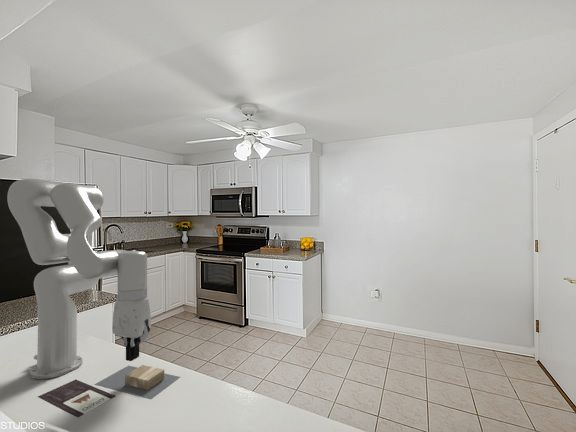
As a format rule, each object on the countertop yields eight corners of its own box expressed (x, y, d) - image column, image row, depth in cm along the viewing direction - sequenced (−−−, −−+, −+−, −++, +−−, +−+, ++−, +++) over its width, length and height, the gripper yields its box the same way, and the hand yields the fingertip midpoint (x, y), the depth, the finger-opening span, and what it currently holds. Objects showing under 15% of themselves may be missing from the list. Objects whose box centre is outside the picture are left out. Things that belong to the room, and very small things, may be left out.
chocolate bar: (75, 379, 82) (116, 395, 75) (75, 382, 82) (115, 399, 74) (37, 396, 74) (78, 417, 66) (37, 400, 74) (78, 421, 66)
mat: (94, 386, 80) (94, 384, 80) (128, 367, 90) (128, 365, 90) (151, 401, 73) (151, 399, 73) (180, 378, 84) (180, 376, 84)
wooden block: (125, 375, 79) (147, 380, 77) (142, 364, 85) (164, 369, 82) (124, 385, 79) (147, 390, 77) (142, 374, 85) (164, 379, 82)
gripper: (101, 295, 82) (101, 360, 81) (142, 300, 77) (142, 369, 77) (124, 289, 89) (124, 349, 89) (163, 293, 84) (163, 356, 84)
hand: (132, 358), depth 83 cm, fingers closed
